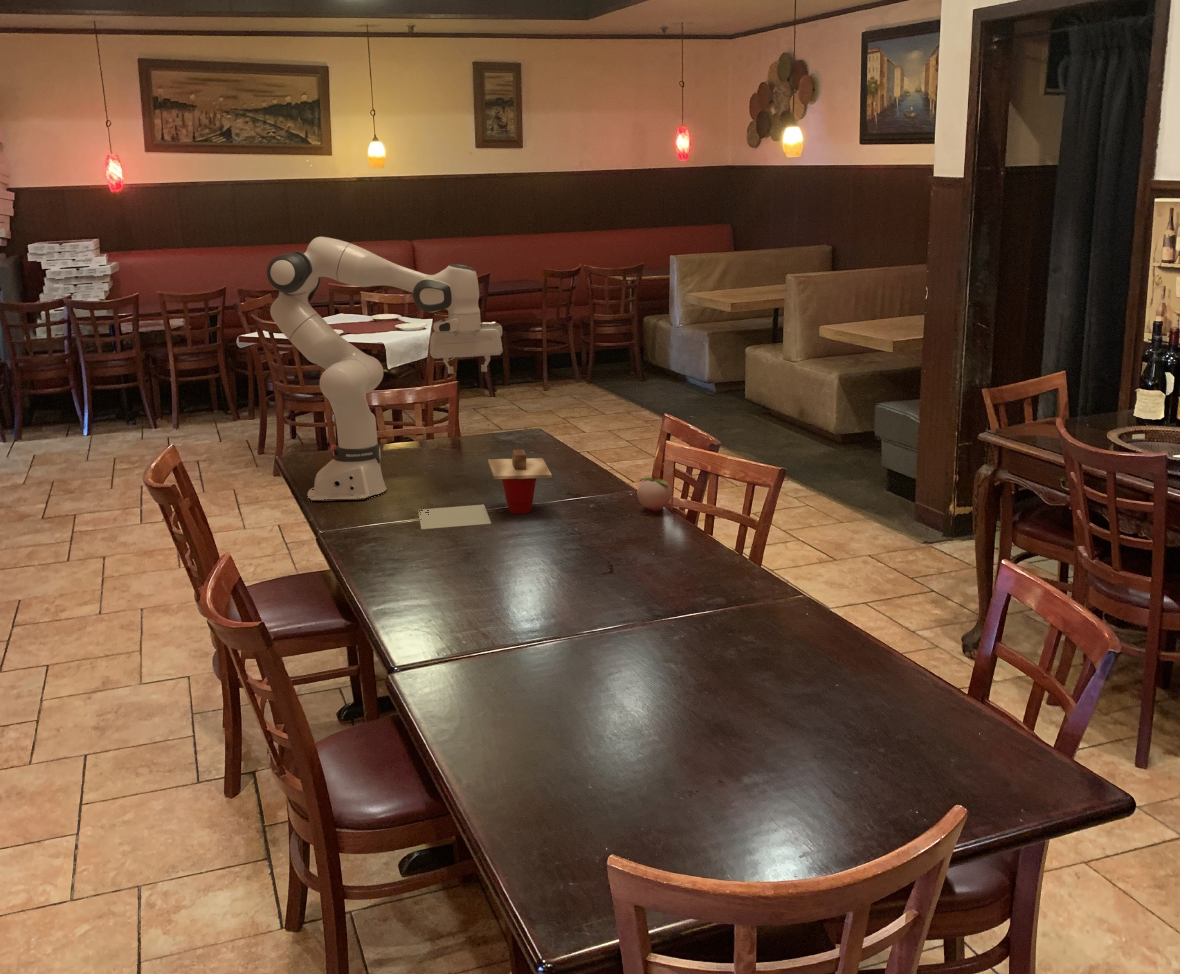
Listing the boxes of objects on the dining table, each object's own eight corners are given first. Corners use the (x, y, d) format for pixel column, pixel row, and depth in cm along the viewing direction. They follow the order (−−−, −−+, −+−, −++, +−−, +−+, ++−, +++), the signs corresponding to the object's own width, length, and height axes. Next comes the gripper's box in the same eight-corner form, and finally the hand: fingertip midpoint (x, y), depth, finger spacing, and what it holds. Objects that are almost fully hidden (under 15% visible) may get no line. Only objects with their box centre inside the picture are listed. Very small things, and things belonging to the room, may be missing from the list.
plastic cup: (523, 521, 290) (521, 476, 287) (492, 514, 296) (490, 471, 293) (549, 511, 298) (547, 467, 295) (518, 504, 305) (517, 462, 302)
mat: (421, 531, 284) (421, 529, 284) (418, 511, 301) (418, 509, 301) (491, 525, 287) (491, 523, 287) (484, 506, 304) (484, 504, 304)
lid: (494, 479, 286) (494, 461, 284) (487, 462, 300) (487, 445, 298) (551, 477, 289) (552, 460, 287) (542, 460, 303) (542, 444, 301)
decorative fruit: (631, 513, 294) (630, 477, 291) (644, 505, 301) (643, 470, 298) (663, 518, 290) (663, 481, 287) (676, 509, 297) (675, 473, 294)
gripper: (500, 320, 314) (502, 368, 318) (427, 323, 310) (431, 372, 314) (503, 322, 308) (505, 372, 312) (429, 326, 304) (432, 376, 308)
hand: (467, 372), depth 313 cm, fingers open, 8 cm apart
